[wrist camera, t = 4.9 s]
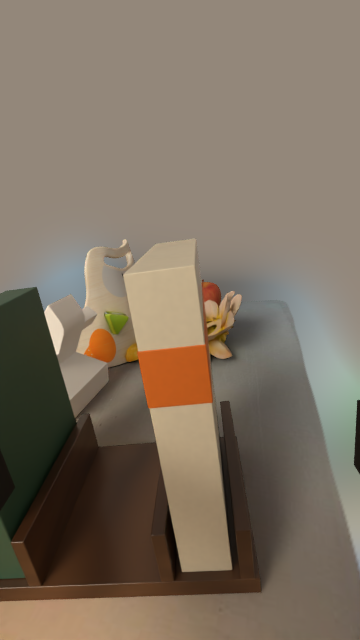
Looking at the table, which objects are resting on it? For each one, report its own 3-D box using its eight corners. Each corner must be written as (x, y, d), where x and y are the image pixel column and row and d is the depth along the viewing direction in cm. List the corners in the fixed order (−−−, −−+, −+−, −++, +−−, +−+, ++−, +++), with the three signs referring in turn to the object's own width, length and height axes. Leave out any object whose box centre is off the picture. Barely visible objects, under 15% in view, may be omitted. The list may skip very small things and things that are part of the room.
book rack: (237, 446, 30) (223, 312, 26) (261, 592, 19) (245, 396, 14) (52, 460, 32) (10, 336, 27) (-29, 602, 20) (-122, 429, 16)
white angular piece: (-2, 439, 36) (-47, 324, 32) (70, 375, 49) (45, 287, 44) (61, 445, 34) (22, 322, 29) (120, 376, 46) (99, 283, 42)
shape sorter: (133, 375, 46) (106, 249, 40) (71, 373, 49) (39, 257, 44) (176, 324, 63) (162, 232, 57) (129, 325, 67) (111, 238, 61)
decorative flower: (164, 324, 59) (169, 271, 55) (226, 331, 59) (235, 278, 55) (154, 369, 45) (159, 302, 41) (234, 377, 45) (247, 312, 41)
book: (220, 440, 29) (196, 238, 23) (233, 571, 19) (196, 265, 13) (186, 442, 30) (154, 243, 24) (181, 573, 19) (121, 274, 13)
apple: (212, 308, 70) (208, 272, 67) (229, 317, 63) (226, 277, 61) (181, 316, 67) (176, 279, 65) (195, 326, 61) (190, 285, 58)
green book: (85, 451, 30) (37, 286, 25) (27, 578, 20) (-75, 343, 15) (58, 453, 31) (5, 290, 25) (-13, 580, 20) (-126, 349, 15)
